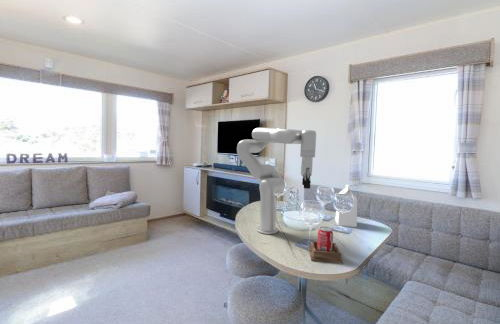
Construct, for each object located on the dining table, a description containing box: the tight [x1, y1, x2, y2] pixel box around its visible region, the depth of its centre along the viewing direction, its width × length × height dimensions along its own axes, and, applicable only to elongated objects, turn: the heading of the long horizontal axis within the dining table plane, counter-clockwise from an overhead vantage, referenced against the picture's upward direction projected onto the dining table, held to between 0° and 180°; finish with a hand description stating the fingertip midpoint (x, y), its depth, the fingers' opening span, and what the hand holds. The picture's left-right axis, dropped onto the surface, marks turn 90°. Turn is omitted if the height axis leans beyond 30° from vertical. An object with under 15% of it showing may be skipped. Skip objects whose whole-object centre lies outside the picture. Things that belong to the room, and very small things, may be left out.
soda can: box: [316, 226, 334, 252], centre depth 124 cm, size 7×7×12 cm
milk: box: [334, 184, 358, 228], centre depth 173 cm, size 12×12×26 cm
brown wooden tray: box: [308, 240, 344, 264], centre depth 124 cm, size 14×14×4 cm
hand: (306, 186), depth 137 cm, fingers open, 9 cm apart
